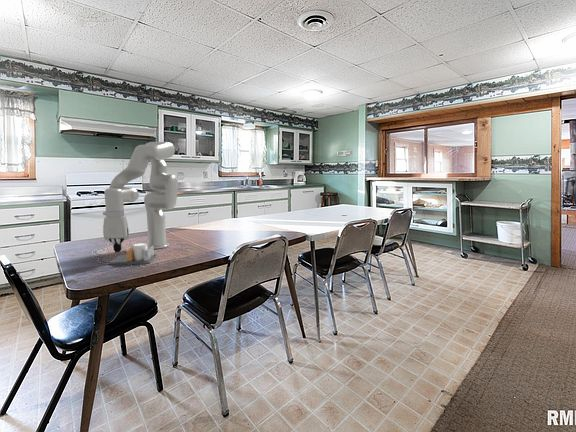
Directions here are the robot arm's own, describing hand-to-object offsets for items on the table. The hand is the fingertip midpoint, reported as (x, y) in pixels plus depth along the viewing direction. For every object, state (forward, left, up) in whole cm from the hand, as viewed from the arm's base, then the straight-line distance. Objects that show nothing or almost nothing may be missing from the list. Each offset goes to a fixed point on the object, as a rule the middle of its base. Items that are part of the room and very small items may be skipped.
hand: (117, 251), depth 149 cm
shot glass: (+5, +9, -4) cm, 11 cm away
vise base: (+3, +6, -5) cm, 9 cm away
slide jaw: (+3, +6, -4) cm, 8 cm away
